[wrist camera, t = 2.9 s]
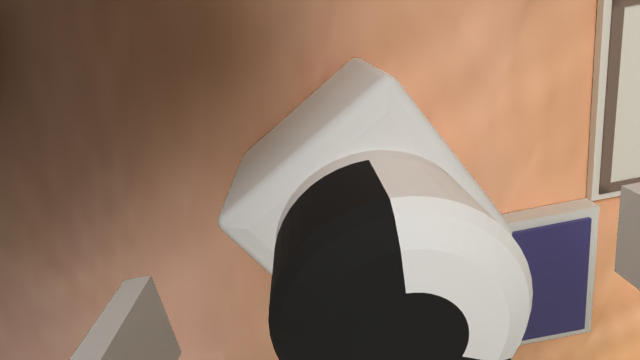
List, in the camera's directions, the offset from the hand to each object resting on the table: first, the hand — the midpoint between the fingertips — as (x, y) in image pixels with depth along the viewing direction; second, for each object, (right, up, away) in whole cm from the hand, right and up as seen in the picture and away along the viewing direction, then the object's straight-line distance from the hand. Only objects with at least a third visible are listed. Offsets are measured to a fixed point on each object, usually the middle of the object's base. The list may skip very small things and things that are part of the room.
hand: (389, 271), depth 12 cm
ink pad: (+9, -3, +11) cm, 14 cm away
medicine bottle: (-1, +4, +8) cm, 9 cm away
